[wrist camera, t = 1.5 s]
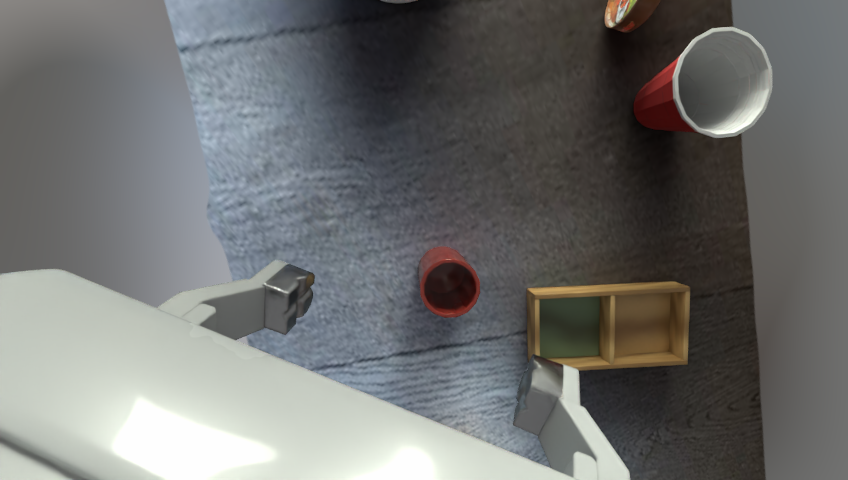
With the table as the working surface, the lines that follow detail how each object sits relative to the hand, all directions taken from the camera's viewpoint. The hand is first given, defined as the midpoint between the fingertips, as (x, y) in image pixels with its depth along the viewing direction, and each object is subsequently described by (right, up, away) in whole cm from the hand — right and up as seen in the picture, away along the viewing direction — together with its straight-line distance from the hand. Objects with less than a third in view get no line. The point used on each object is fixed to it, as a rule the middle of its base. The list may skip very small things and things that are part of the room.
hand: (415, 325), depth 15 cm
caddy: (+24, -8, +42) cm, 49 cm away
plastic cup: (+30, +20, +39) cm, 53 cm away
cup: (+3, -1, +41) cm, 41 cm away
